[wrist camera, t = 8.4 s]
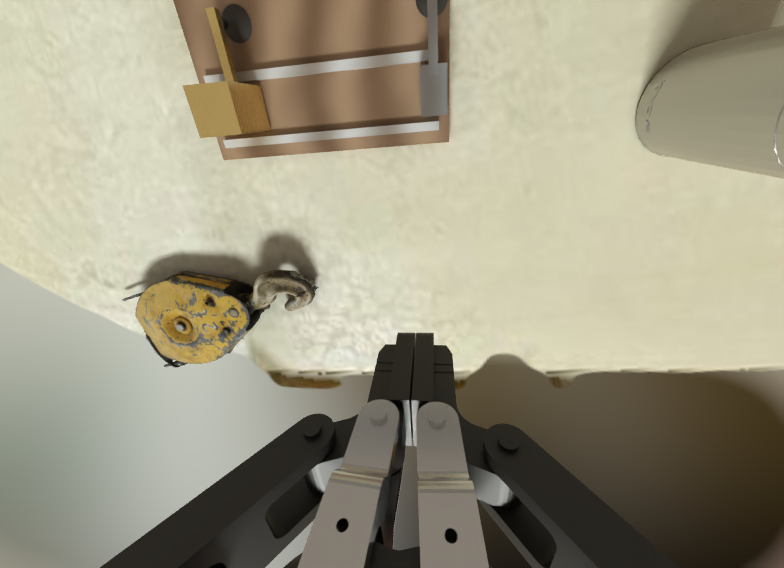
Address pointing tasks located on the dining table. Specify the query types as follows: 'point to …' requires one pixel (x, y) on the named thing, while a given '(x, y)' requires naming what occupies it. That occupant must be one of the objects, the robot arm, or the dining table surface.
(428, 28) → the gauge board
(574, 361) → the dining table surface
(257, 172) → the dining table surface
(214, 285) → the pulley block
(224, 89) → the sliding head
